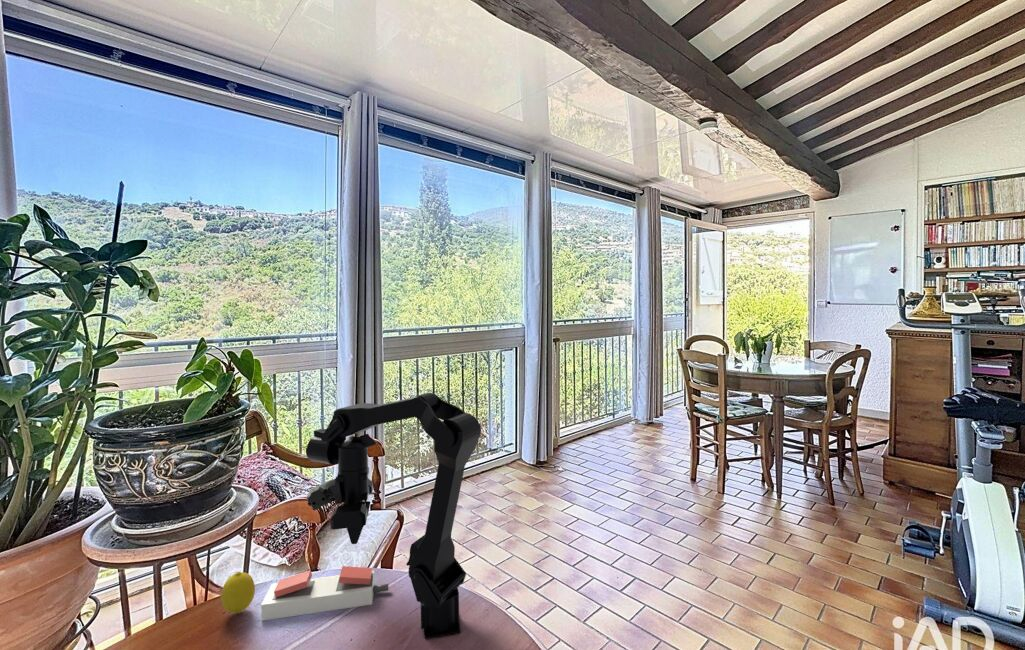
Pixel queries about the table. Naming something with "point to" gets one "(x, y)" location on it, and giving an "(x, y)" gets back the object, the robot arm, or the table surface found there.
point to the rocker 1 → (293, 583)
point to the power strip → (319, 597)
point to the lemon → (238, 592)
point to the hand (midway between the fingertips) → (354, 543)
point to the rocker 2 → (355, 575)
